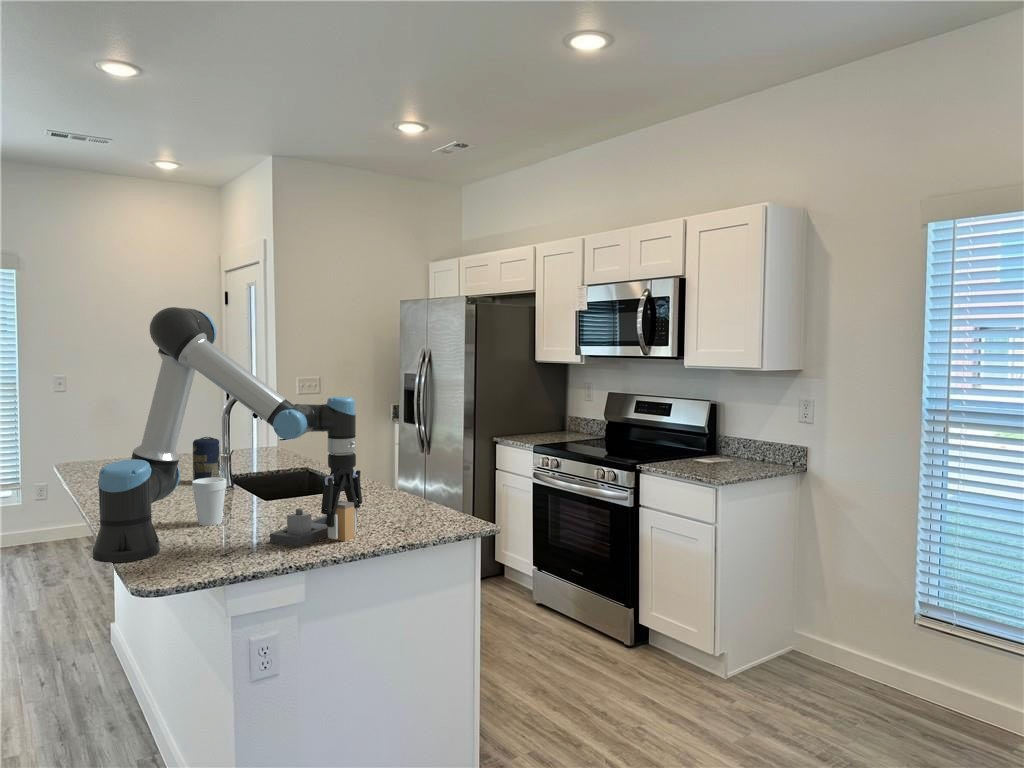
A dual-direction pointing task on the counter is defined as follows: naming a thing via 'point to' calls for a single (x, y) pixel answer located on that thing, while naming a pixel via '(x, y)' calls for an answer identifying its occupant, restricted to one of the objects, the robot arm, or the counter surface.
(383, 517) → the counter surface
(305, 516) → the gray fixture base
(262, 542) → the counter surface
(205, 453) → the canister
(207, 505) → the foam cup
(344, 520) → the plug
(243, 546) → the counter surface
